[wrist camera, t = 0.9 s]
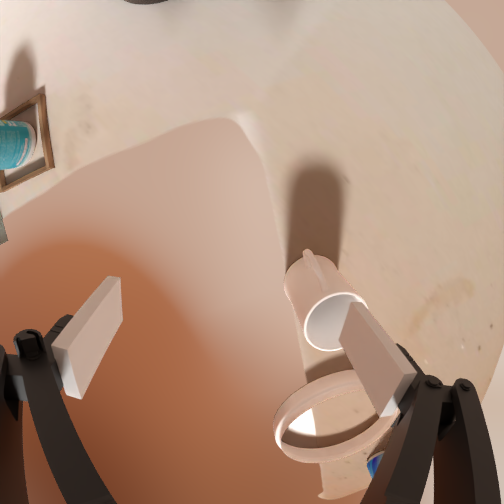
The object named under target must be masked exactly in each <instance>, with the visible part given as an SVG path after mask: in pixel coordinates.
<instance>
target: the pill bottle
mask: <svg viewBox="0 0 504 504" xmlns="http://www.w3.org/2000/svg"><path fill="white" fill-rule="evenodd" d="M35 145H36V135H35V131H34V129H33V127H32V126H31V125H30V124H29V123H27V122H23V121H9V120H0V170H4V169H11V168H17V167H21V166H23V165H25V164H26V163H27V162H28V161H29V160H30V159H31V157H32V155H33V153H34V150H35Z"/></svg>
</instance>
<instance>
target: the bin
mask: <svg viewBox="0 0 504 504" xmlns="http://www.w3.org/2000/svg"><path fill="white" fill-rule="evenodd" d="M6 241H8V239H7V235H6V232H5V228H4V225H3V221H2V217H1V213H0V245H1V244H3V243H5V242H6Z"/></svg>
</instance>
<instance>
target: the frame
mask: <svg viewBox="0 0 504 504" xmlns="http://www.w3.org/2000/svg"><path fill="white" fill-rule="evenodd" d="M36 103H38V113H39V123H40V131H41V139H42V145H43V152H44V158H45V163H46V166H44V167H42V168H40V169H38V170H35V171H33V172H31V173H29V174H27V175H25V176H23V177H21V178H19V179H18V180H16V181H14V182H12V183H10V184H8V185H6V182H5V176H4V170H0V193H1V192H5V191H7V190H9V189H11V188H13V187H15V186H17V185H19V184H20V183H22V182H24V181H27V180H29V179H31V178H33V177H35V176H37V175H39V174H41V173H43V172H46V171H48V170H50V169H52V168H55V166H54V161H53V155H52V150H51V143H50V137H49V129H48V121H47V112H46V102H45V95H43V94H39V95H37V96H35V97H33V98H32V99H30V100H28V101H27V102H25V103H23V104H22V105H20V106H19V107H17V108H15V109H14V110H12V111H11V112H9V113H8V114H6V115H5V116H3V117H2V118H0V120H10V119H11V118H13V117H14V116H16V115H18V114H19V113H21V112H22V111H24V110H26V109H27V108H29V107H31V106H33V105H34V104H36Z"/></svg>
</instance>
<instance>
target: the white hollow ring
mask: <svg viewBox="0 0 504 504" xmlns="http://www.w3.org/2000/svg"><path fill="white" fill-rule="evenodd" d="M360 390H365V389H364V387H363V385H362V383H361V381H360V379H359V377H358V376H357V374H356V372H355V370H354V369H352V370H345V371H340V372H336V373H332V374H329V375H326V376H324V377H321V378H319V379H317V380H314V381H312V382H310V383H309V384H306V385H304V386H303V387H301V388H300V389H298V390H297V391H295V392H294V393H293V394H292V395H290V396H289V397H288V398H287V399H286V400H285V401H284V402H283V403H282V405H281V406H280V408H279V409H278V410H277V412H276V414H275V417H274V421H273V429H274V434H275V439H276V442H277V444H278V446H279V447H280V448H281V449H282V450H283V452H284V453H285V454H286V455H287V456H288V457H290V458H292V459H294V460H296V461H300V462H306V463H322V462H329V461H334V460H338V459H342V458H345V457H348V456H350V455H353V454H355V453H357V452H359V451H361V450H363V449H364V448H366V447H368V446H369V445H371V444H372V443H374V442H375V441H376V440H378V439H379V438H380V437H381V436H382V435H383V434H384V433H385V432H386V431H387V430H388V429H389V427H390V426H391V424H392V423H393V421H394V419H395V417H396V414H397V409H398V407H397V408H396V410H395V412H394V413H393V415H391V416H385V417H380V418H379V419H378V420H377V421H376V422H375V423H374V424H373V425H372V426H371V427H369V428H368V429H367V430H365V431H364V432H362V433H361V434H359V435H357V436H356V437H354V438H352V439H350V440H347V441H345V442H342V443H340V444H337V445H333V446H329V447H324V448H317V440H316V432H315V425H314V419H313V414H312V410H311V408H312V407H314V406H316V405H318V404H320V403H322V402H324V401H326V400H328V399H331V398H333V397H336V396H339V395H342V394H346V393H350V392H354V391H360Z"/></svg>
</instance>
